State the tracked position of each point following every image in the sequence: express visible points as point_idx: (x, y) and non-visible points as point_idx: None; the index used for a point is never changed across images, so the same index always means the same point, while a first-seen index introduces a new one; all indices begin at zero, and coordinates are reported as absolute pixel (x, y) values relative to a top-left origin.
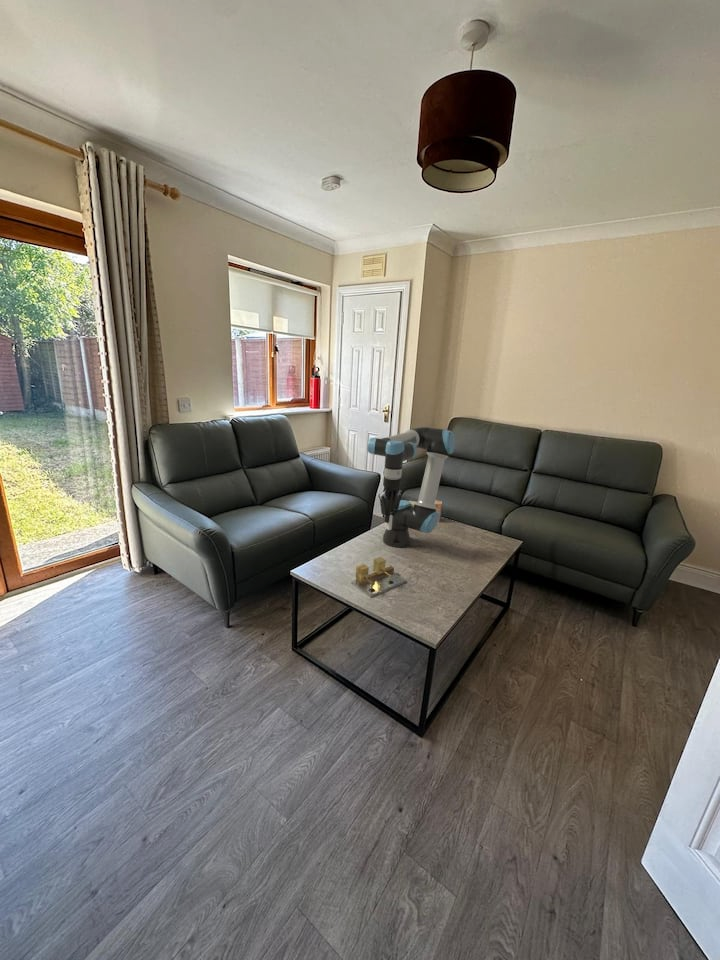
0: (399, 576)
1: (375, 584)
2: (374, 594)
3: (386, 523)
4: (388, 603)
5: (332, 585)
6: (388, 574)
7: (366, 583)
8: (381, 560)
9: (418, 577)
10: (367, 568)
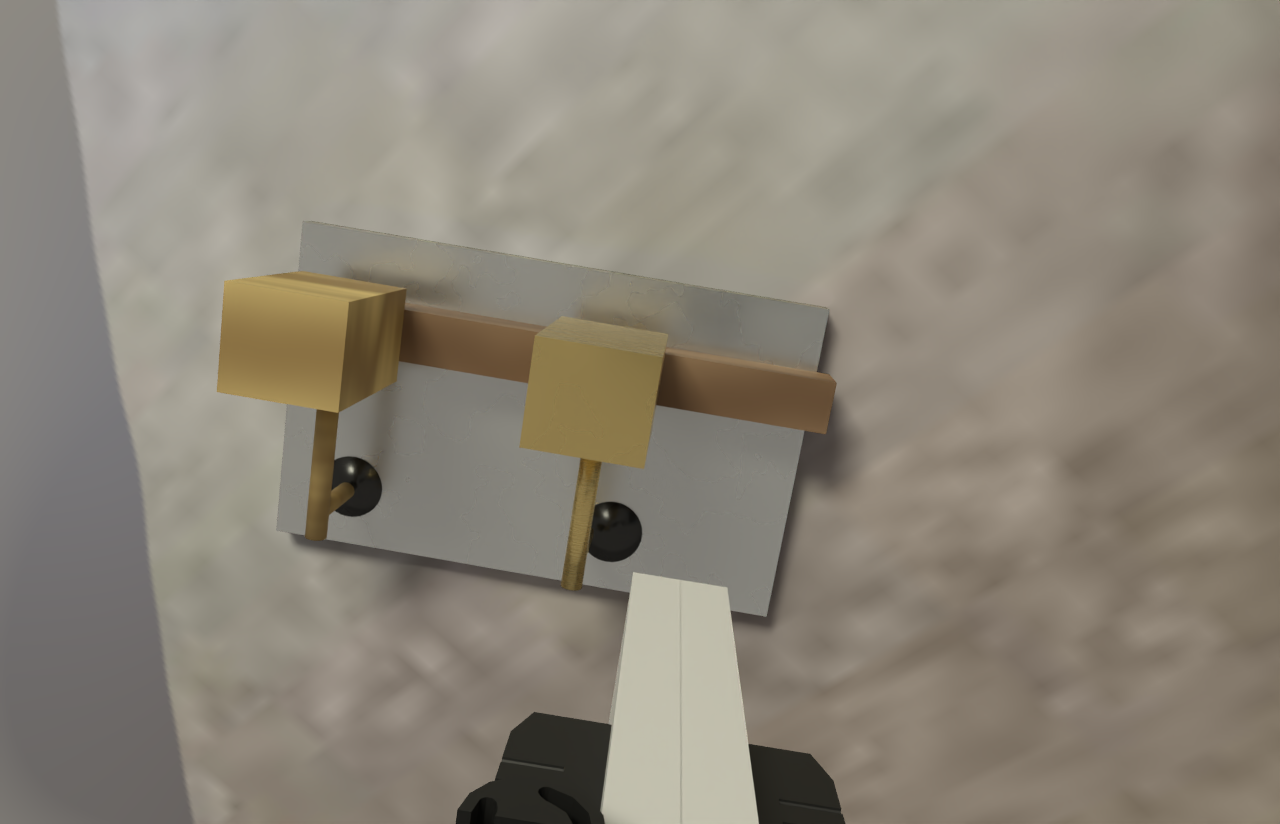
0: (778, 528)
1: (457, 445)
2: (333, 537)
3: (615, 696)
4: (349, 691)
5: (131, 105)
6: (567, 550)
7: (398, 367)
8: (589, 434)
9: (942, 649)
10: (323, 407)
